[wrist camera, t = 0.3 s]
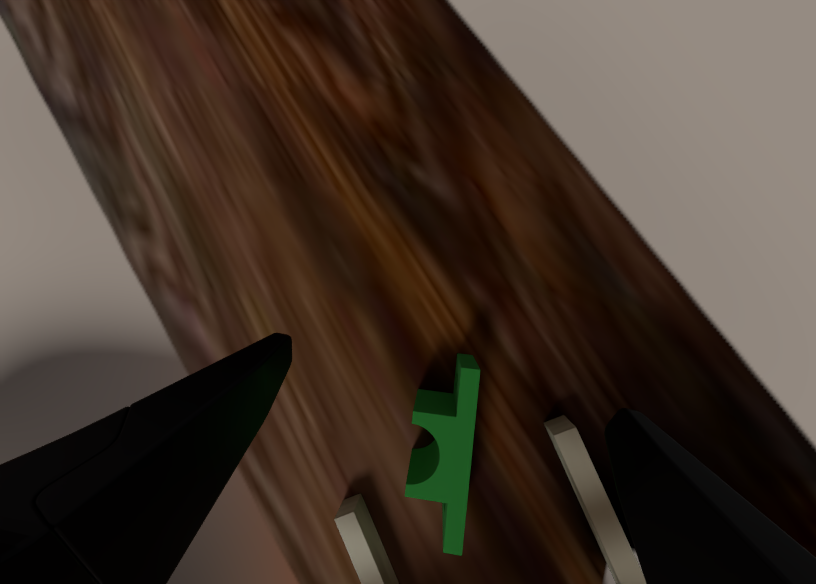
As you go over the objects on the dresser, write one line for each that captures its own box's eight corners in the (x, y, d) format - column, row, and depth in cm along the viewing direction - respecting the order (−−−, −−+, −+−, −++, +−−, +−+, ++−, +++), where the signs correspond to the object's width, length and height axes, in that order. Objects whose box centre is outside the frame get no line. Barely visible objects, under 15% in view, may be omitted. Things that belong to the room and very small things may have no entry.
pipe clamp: (421, 348, 23) (417, 361, 19) (472, 354, 23) (480, 368, 18) (407, 497, 23) (399, 546, 19) (457, 505, 23) (462, 557, 18)
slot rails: (636, 575, 22) (656, 604, 20) (406, 651, 23) (404, 685, 21) (563, 414, 22) (576, 427, 20) (343, 500, 24) (334, 519, 22)
